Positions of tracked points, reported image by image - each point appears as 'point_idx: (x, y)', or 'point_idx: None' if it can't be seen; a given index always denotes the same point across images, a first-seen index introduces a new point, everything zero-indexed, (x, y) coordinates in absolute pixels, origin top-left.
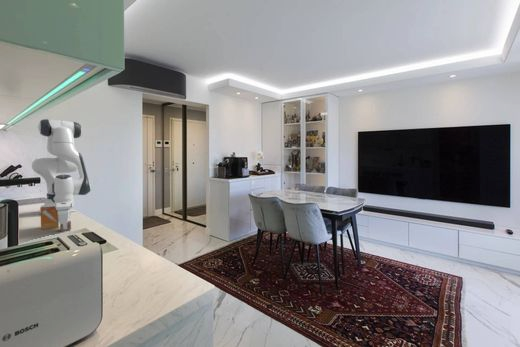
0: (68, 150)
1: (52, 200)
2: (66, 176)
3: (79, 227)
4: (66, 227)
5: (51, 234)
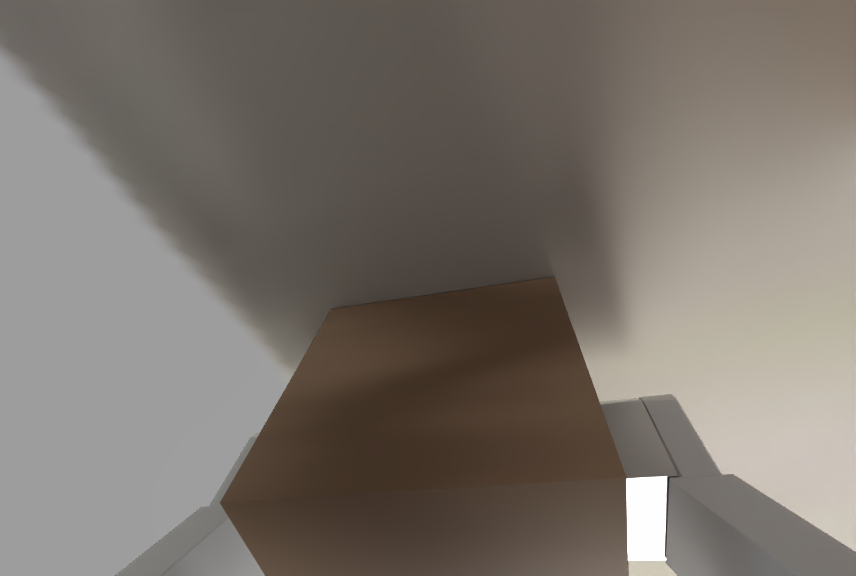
0: None
1: None
2: None
3: None
4: None
5: (113, 160)
